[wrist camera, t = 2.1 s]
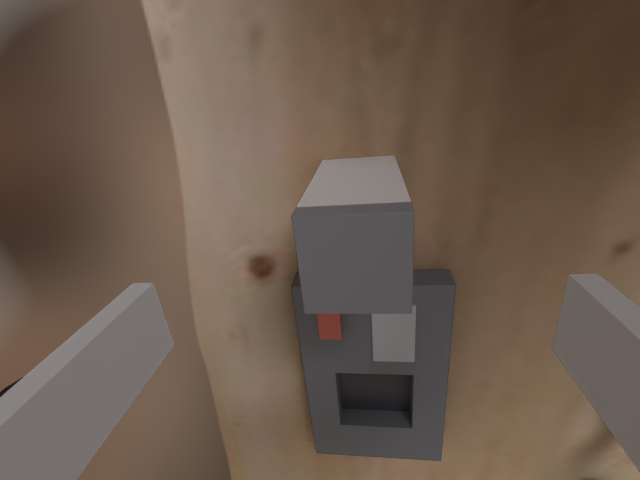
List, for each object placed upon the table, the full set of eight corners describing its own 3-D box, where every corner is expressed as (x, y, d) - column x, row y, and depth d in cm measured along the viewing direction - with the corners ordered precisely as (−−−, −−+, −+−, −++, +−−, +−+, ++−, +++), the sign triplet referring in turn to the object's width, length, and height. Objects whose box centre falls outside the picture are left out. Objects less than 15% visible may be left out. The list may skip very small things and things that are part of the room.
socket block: (296, 272, 26) (289, 291, 23) (449, 269, 24) (457, 289, 22) (319, 432, 33) (315, 458, 31) (436, 439, 31) (442, 466, 29)
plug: (322, 160, 22) (291, 216, 13) (394, 155, 21) (414, 210, 12) (328, 224, 24) (304, 313, 15) (394, 222, 23) (412, 313, 14)
